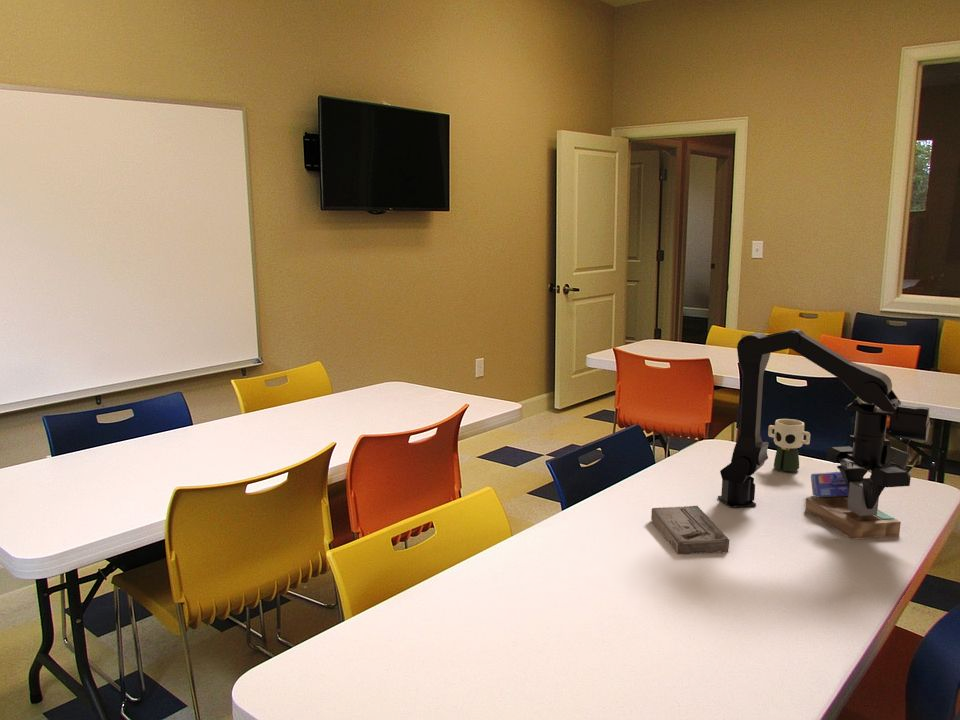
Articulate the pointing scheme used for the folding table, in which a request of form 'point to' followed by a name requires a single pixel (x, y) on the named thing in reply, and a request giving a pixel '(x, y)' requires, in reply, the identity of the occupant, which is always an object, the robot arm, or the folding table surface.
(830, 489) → the ink cartridge box
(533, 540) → the folding table surface
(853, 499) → the plug
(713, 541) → the box
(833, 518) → the socket block
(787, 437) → the character mug
